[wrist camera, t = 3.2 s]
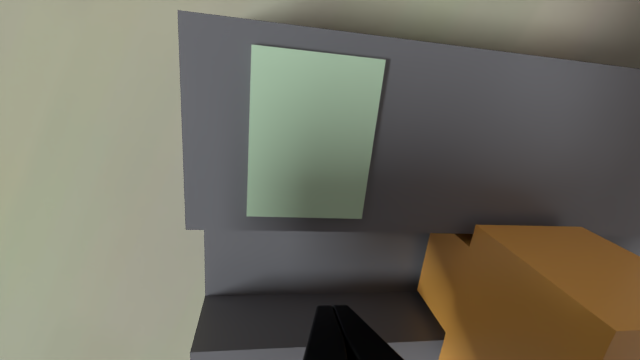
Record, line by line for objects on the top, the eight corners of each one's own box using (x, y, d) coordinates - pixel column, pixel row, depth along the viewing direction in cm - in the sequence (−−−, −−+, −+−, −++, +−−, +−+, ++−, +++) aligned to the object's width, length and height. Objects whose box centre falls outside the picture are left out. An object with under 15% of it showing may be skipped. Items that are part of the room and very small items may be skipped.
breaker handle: (520, 195, 12) (771, 324, 6) (485, 306, 14) (657, 495, 8) (433, 191, 11) (615, 331, 5) (407, 309, 13) (527, 516, 7)
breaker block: (679, 85, 14) (843, 93, 10) (567, 345, 18) (649, 422, 14) (209, 30, 10) (175, 8, 6) (212, 365, 15) (193, 473, 11)
